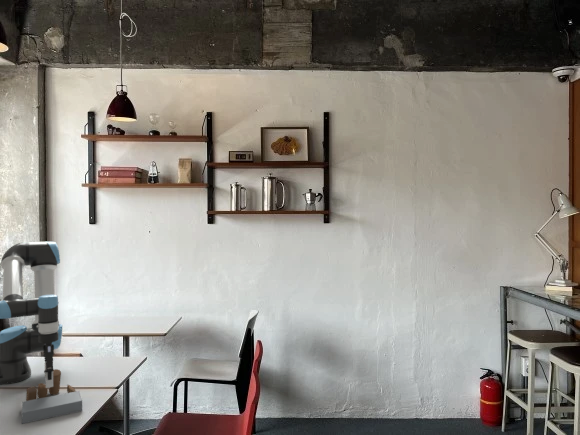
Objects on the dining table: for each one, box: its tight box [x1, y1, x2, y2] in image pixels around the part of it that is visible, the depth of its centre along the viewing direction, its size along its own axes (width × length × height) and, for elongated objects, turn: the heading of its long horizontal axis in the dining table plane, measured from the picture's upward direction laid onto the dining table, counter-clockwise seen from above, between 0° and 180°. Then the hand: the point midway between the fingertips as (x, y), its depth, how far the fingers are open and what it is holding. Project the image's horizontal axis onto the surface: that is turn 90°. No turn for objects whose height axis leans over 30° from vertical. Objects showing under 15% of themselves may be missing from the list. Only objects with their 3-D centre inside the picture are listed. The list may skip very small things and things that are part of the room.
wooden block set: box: [25, 368, 76, 401], centre depth 182 cm, size 18×9×10 cm, turn 134°
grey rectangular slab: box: [21, 390, 83, 424], centre depth 169 cm, size 11×20×4 cm, turn 121°
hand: (48, 382), depth 185 cm, fingers open, 13 cm apart
